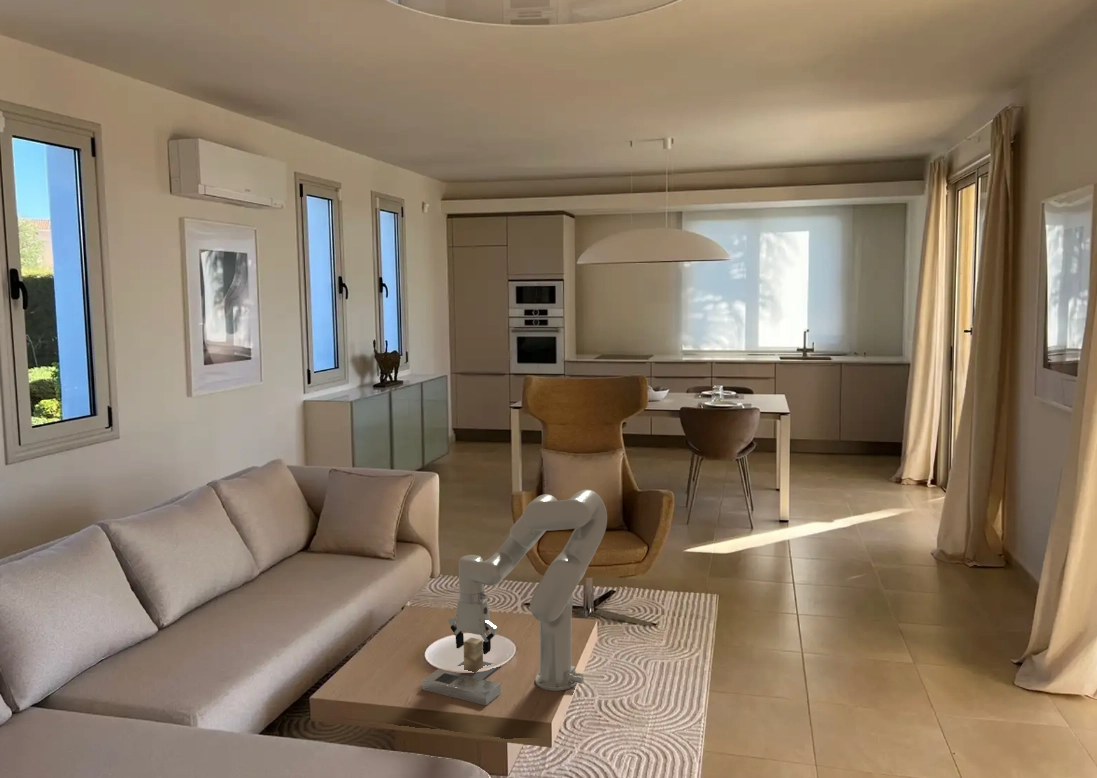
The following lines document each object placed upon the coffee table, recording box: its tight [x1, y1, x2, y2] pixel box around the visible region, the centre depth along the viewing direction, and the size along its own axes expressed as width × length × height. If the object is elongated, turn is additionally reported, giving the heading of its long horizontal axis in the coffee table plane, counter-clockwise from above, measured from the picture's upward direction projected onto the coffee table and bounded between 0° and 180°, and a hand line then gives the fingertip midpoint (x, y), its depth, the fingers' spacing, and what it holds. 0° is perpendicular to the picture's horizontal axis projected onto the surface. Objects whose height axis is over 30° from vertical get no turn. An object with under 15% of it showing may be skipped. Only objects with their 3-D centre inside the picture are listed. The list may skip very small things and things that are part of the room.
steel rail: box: [421, 668, 502, 706], centre depth 246 cm, size 22×8×3 cm, turn 62°
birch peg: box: [463, 637, 484, 673], centre depth 259 cm, size 4×4×9 cm
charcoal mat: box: [452, 660, 500, 680], centre depth 260 cm, size 12×12×1 cm
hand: (473, 649), depth 259 cm, fingers open, 9 cm apart
